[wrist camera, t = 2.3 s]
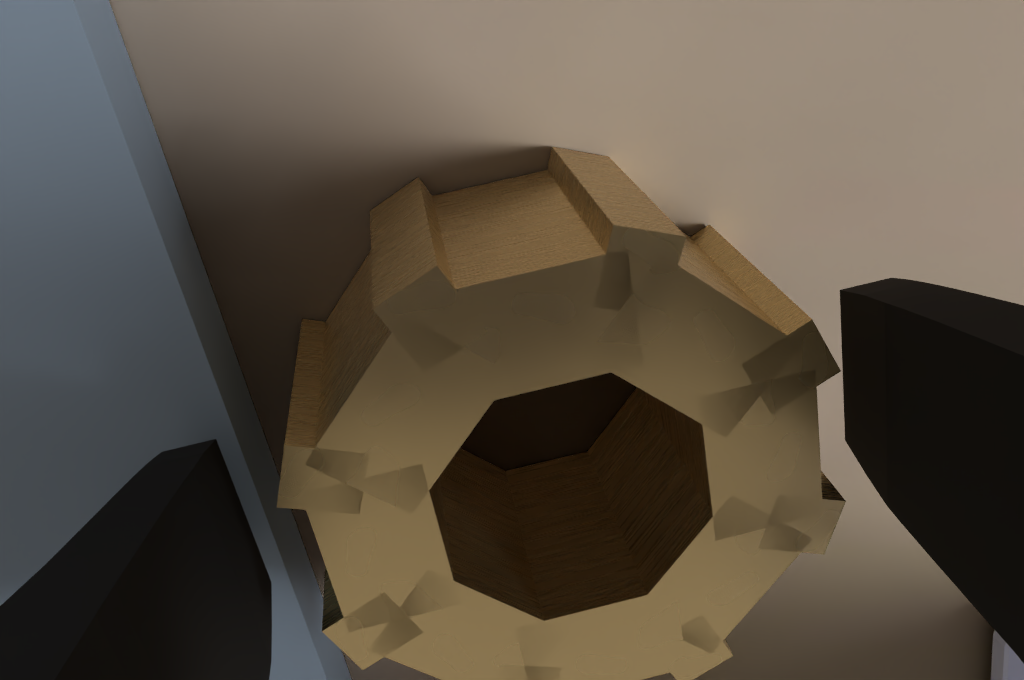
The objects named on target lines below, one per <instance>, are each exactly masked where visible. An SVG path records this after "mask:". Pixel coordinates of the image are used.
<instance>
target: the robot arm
mask: <svg viewBox="0 0 1024 680" xmlns="http://www.w3.org/2000/svg"><path fill="white" fill-rule="evenodd" d="M840 305H841V333H842V361H843V389H844V418H845V441H846V442H847V444H848V445H849V447H850V449H851V450H852V452H853V454H854V455H855V457H856V458H857V460H858V462H859V463H860V465H861V467H862V468H863V470H864V471H865V473H866V475H867V476H868V478H869V479H870V481H871V482H872V484H873V485H874V487H875V488H876V490H877V491H878V493H879V494H880V496H881V497H882V499H883V500H884V502H885V503H886V505H887V506H888V508H889V509H890V510H891V511H892V512H893V514H894V515H895V516H896V517H897V518H898V519H899V521H900V522H901V523H902V524H903V525H904V527H905V528H906V529H907V530H908V531H909V532H910V534H911V535H912V536H913V537H914V538H915V539H916V540H917V542H918V543H919V544H920V545H921V546H922V547H923V549H924V550H925V551H926V552H927V553H928V554H929V556H930V557H931V558H932V559H933V560H934V561H935V562H936V564H937V565H938V566H939V567H940V568H941V569H942V570H943V571H944V573H945V574H946V575H947V576H948V577H949V578H950V579H951V581H952V582H953V583H954V584H955V585H956V586H957V587H958V589H959V590H960V591H961V592H962V593H963V594H964V595H965V596H966V598H967V599H968V600H969V601H970V602H971V603H972V604H973V606H974V607H975V608H976V609H977V610H978V611H979V612H980V614H981V615H982V616H983V617H984V618H985V619H986V620H987V621H988V623H989V624H990V625H991V626H992V627H993V628H994V629H995V630H994V633H993V647H992V666H991V680H1024V306H1023V305H1019V304H1015V303H1011V302H1007V301H1003V300H999V299H995V298H991V297H986V296H982V295H978V294H974V293H970V292H966V291H962V290H957V289H953V288H948V287H944V286H939V285H934V284H930V283H924V282H919V281H913V280H906V279H897V278H889V279H884V280H880V281H876V282H872V283H868V284H863V285H859V286H855V287H851V288H847V289H842V290H840ZM271 657H272V583H271V580H270V577H269V574H268V572H267V569H266V567H265V564H264V561H263V559H262V556H261V554H260V551H259V548H258V546H257V543H256V541H255V538H254V536H253V533H252V530H251V528H250V525H249V523H248V520H247V517H246V515H245V512H244V510H243V507H242V505H241V502H240V499H239V497H238V494H237V492H236V489H235V486H234V484H233V481H232V479H231V476H230V473H229V471H228V468H227V466H226V463H225V461H224V458H223V455H222V453H221V450H220V448H219V445H218V442H217V440H216V439H213V440H209V441H205V442H201V443H197V444H192V445H188V446H184V447H180V448H176V449H171V450H167V451H163V452H161V453H159V454H158V455H157V456H156V457H154V458H153V459H152V460H151V461H149V462H148V463H147V464H146V465H145V466H144V467H143V468H142V469H141V470H140V471H139V472H137V473H136V474H135V475H134V476H133V477H132V478H131V479H130V480H129V481H128V482H127V483H126V484H125V485H124V486H123V487H122V488H121V489H120V490H119V491H118V492H117V493H116V494H115V495H114V496H113V497H112V498H111V499H110V500H109V501H108V502H107V503H106V504H105V505H104V506H103V507H102V508H101V509H100V510H99V511H98V512H97V513H96V514H95V515H94V516H93V517H92V518H91V519H90V520H89V521H88V522H87V523H86V524H85V525H84V526H83V527H82V528H81V529H80V530H79V531H78V532H77V533H76V534H75V535H74V536H73V537H72V538H71V539H70V540H69V541H68V542H67V543H66V544H65V545H64V546H63V547H62V548H61V549H60V550H59V551H58V552H57V553H56V554H55V555H54V556H53V557H52V558H51V559H50V560H49V561H48V562H47V563H46V564H45V565H44V566H43V567H42V568H41V569H40V570H39V571H38V572H37V573H35V574H34V575H33V576H32V577H31V578H30V579H29V580H28V581H27V582H26V583H25V584H24V585H22V586H21V587H20V588H19V589H18V590H17V591H16V592H15V593H14V594H13V595H12V596H11V597H9V598H8V599H7V600H6V601H5V602H4V603H3V604H2V605H1V606H0V680H269V676H270V669H271Z"/></svg>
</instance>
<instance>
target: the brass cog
mask: <svg viewBox="0 0 1024 680" xmlns="http://www.w3.org/2000/svg"><path fill="white" fill-rule="evenodd" d="M370 229H371V251H370V253H369V254H368V256H367V257H366V259H365V260H364V262H363V264H362V265H361V267H360V268H359V270H358V271H357V273H356V275H355V276H354V278H353V279H352V281H351V282H350V284H349V286H348V287H347V289H346V290H345V292H344V293H343V295H342V297H341V298H340V300H339V301H338V303H337V304H336V306H335V308H334V309H333V311H332V312H331V314H330V315H329V317H328V319H327V320H326V322H322V321H314V320H307V319H302V323H301V330H300V338H299V345H298V352H297V359H296V366H295V373H294V380H293V387H292V394H291V402H290V409H289V416H288V423H287V430H286V437H285V444H284V452H283V460H282V468H281V476H280V484H279V492H278V499H277V507H278V508H289V509H301V510H306V511H307V514H308V517H309V520H310V523H311V526H312V529H313V531H314V534H315V537H316V540H317V543H318V546H319V549H320V552H321V554H322V557H323V560H324V563H325V583H324V602H323V621H322V632H323V633H324V634H325V635H326V636H327V637H328V638H329V639H330V640H331V641H332V642H334V643H335V644H336V645H337V646H338V647H339V648H340V649H341V650H342V651H343V652H344V653H345V654H346V655H347V656H348V657H349V658H350V659H351V660H352V661H354V662H355V663H356V664H357V665H358V666H359V667H360V668H361V669H362V670H364V669H366V668H367V667H369V666H371V665H372V664H374V663H375V662H377V661H379V660H380V659H382V658H383V657H385V658H388V659H390V660H393V661H395V662H398V663H400V664H403V665H405V666H408V667H410V668H413V669H415V670H418V671H420V672H423V673H425V674H428V675H430V676H433V677H435V678H438V679H440V680H643V679H647V678H650V677H654V676H658V675H662V674H666V673H671V674H672V675H673V677H674V678H675V679H676V680H693V679H695V678H697V677H698V676H700V675H702V674H704V673H705V672H707V671H709V670H710V669H712V668H714V667H715V666H717V665H719V664H720V663H722V662H724V661H725V660H727V659H729V658H730V657H732V656H733V654H732V652H731V650H730V648H729V646H728V644H727V642H726V640H725V638H726V637H727V636H728V634H729V633H730V632H731V631H732V630H733V629H734V628H735V627H736V625H737V624H738V623H739V622H740V621H741V620H742V619H743V617H744V616H745V615H746V614H747V613H748V612H749V611H750V610H751V608H752V607H753V606H754V605H755V604H756V603H757V602H758V601H759V599H760V598H761V597H762V596H763V595H764V594H765V593H766V592H767V590H768V589H769V588H770V587H771V586H772V585H773V584H774V583H775V581H776V580H777V579H778V578H779V577H780V576H781V575H782V573H783V572H784V571H785V570H786V569H787V568H788V567H789V566H790V564H791V563H792V562H793V561H794V560H795V559H796V558H797V557H798V555H799V554H800V553H801V552H802V553H814V554H825V551H826V549H827V546H828V544H829V541H830V539H831V537H832V534H833V532H834V529H835V527H836V524H837V522H838V519H839V517H840V514H841V512H842V509H843V507H844V504H845V502H846V501H845V500H844V499H843V497H842V496H841V495H840V494H839V492H838V491H837V490H836V489H835V487H834V486H833V485H832V484H831V482H830V481H829V480H828V479H827V478H826V476H825V475H824V474H823V473H822V471H821V466H820V447H819V427H818V408H817V388H816V386H818V385H819V384H821V383H823V382H824V381H826V380H827V379H829V378H831V377H832V376H834V375H835V374H837V373H839V372H840V369H839V367H838V365H837V363H836V362H835V360H834V358H833V356H832V354H831V353H830V351H829V349H828V347H827V345H826V344H825V342H824V340H823V338H822V336H821V335H820V333H819V331H818V329H817V327H816V326H815V324H814V322H813V320H812V319H811V318H810V317H809V316H808V315H807V314H806V313H804V312H803V311H802V310H801V309H800V308H799V307H798V306H797V305H796V304H795V303H794V302H793V301H791V300H790V299H789V298H788V297H787V296H786V295H785V294H784V293H783V292H782V291H781V290H780V289H778V288H777V287H776V286H775V285H774V284H773V283H772V282H771V281H770V280H769V279H768V278H767V277H765V276H764V275H763V274H762V273H761V272H760V271H759V270H758V269H757V268H756V267H755V266H754V265H752V264H751V263H750V262H749V261H748V260H747V259H746V258H745V257H744V256H743V255H742V254H741V253H739V252H738V251H737V250H736V249H735V248H734V247H733V246H732V245H731V244H730V243H729V242H728V241H727V240H725V239H724V238H723V237H722V236H721V235H720V234H719V233H718V232H717V231H716V230H715V229H714V228H712V227H711V226H710V225H708V226H706V227H705V228H703V229H702V230H700V231H699V232H697V233H696V234H694V235H693V236H691V237H689V236H688V235H686V234H685V233H683V232H682V231H680V230H679V229H678V227H677V226H676V225H675V224H674V223H673V222H672V221H671V220H670V219H669V218H668V217H667V216H666V215H665V214H664V213H663V212H662V211H661V210H660V209H659V208H658V207H657V206H656V205H655V204H654V203H653V202H652V201H651V200H650V199H649V198H648V197H647V196H646V195H645V194H644V193H643V192H642V191H641V190H640V189H639V187H638V186H637V185H636V184H635V183H634V182H633V181H632V180H631V179H630V178H629V177H628V176H627V175H626V174H625V173H624V172H623V171H622V170H621V169H620V168H619V167H618V166H617V165H616V164H615V163H614V162H613V161H612V160H611V159H610V158H609V157H607V156H602V155H596V154H590V153H584V152H579V151H573V150H567V149H562V148H556V147H552V150H551V154H550V159H549V163H548V168H547V170H545V171H540V172H536V173H531V174H527V175H523V176H518V177H514V178H509V179H505V180H501V181H496V182H492V183H487V184H483V185H479V186H474V187H470V188H465V189H461V190H456V191H452V192H448V193H443V194H439V195H434V196H432V195H431V193H430V192H429V191H428V189H427V188H426V187H425V185H424V184H423V183H422V181H421V180H420V178H419V177H418V178H416V179H415V180H413V181H412V182H411V183H409V184H408V185H406V186H405V187H403V188H402V189H400V190H399V191H398V192H396V193H395V194H393V195H392V196H390V197H389V198H388V199H386V200H385V201H383V202H382V203H380V204H379V205H378V206H376V207H375V208H373V209H372V210H370ZM611 372H612V373H614V374H615V375H617V376H619V377H621V378H622V379H624V380H626V381H628V382H629V383H631V384H633V385H635V386H636V387H637V388H636V389H635V391H634V392H633V393H632V394H631V396H630V397H629V398H628V400H627V401H626V402H625V404H624V405H623V406H622V407H621V409H620V410H619V411H618V413H617V414H616V415H615V417H614V418H613V419H612V420H611V422H610V423H609V424H608V426H607V427H606V428H605V430H604V431H603V432H602V433H601V435H600V436H599V437H598V439H597V440H596V441H595V443H594V444H593V445H592V446H591V448H590V449H589V450H588V451H587V452H583V453H578V454H574V455H570V456H566V457H562V458H558V459H554V460H550V461H545V462H541V463H537V464H533V465H529V466H525V467H521V468H517V469H512V470H508V471H504V470H502V469H500V468H498V467H496V466H495V465H493V464H491V463H489V462H487V461H485V460H483V459H481V458H479V457H477V456H475V455H473V454H471V453H469V452H467V451H465V450H463V449H461V448H460V447H461V445H462V444H463V443H464V441H465V440H466V438H467V437H468V436H469V434H470V433H471V432H472V430H473V429H474V427H475V426H476V425H477V423H478V422H479V420H480V419H481V418H482V416H483V415H484V413H485V412H486V411H487V409H488V408H489V407H490V405H491V404H492V402H493V401H494V400H498V399H502V398H506V397H510V396H514V395H519V394H523V393H527V392H531V391H535V390H540V389H544V388H548V387H552V386H556V385H560V384H565V383H569V382H573V381H577V380H581V379H586V378H590V377H594V376H598V375H602V374H607V373H611Z"/></svg>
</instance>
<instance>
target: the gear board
mask: <svg viewBox="0 0 1024 680" xmlns="http://www.w3.org/2000/svg"><path fill="white" fill-rule="evenodd" d="M213 439H216V440H217V442H218V445H219V448H220V450H221V453H222V455H223V458H224V461H225V463H226V466H227V468H228V471H229V473H230V476H231V479H232V481H233V484H234V486H235V489H236V492H237V494H238V497H239V499H240V502H241V505H242V507H243V510H244V512H245V515H246V517H247V520H248V523H249V525H250V528H251V530H252V533H253V536H254V538H255V541H256V543H257V546H258V548H259V551H260V554H261V556H262V559H263V561H264V564H265V567H266V569H267V572H268V574H269V577H270V580H271V583H272V657H271V669H270V676H269V680H352V678H351V676H350V673H349V670H348V667H347V664H346V662H345V659H344V656H343V653H342V651H341V649H340V648H339V647H338V646H337V645H336V644H335V643H334V642H332V641H331V640H330V639H329V638H328V637H327V636H326V635H325V634H324V633H323V632H322V621H323V602H324V600H323V597H322V595H321V592H320V589H319V586H318V583H317V581H316V578H315V575H314V572H313V570H312V567H311V564H310V561H309V558H308V556H307V553H306V550H305V547H304V544H303V542H302V539H301V536H300V533H299V530H298V528H297V525H296V522H295V519H294V516H293V514H292V511H291V509H289V508H278V507H277V499H278V492H279V484H280V477H279V475H278V472H277V469H276V466H275V463H274V461H273V458H272V455H271V452H270V449H269V447H268V444H267V441H266V438H265V435H264V433H263V430H262V427H261V424H260V421H259V419H258V416H257V413H256V410H255V408H254V405H253V402H252V399H251V396H250V394H249V391H248V388H247V385H246V382H245V380H244V377H243V374H242V371H241V368H240V366H239V363H238V360H237V357H236V354H235V352H234V349H233V346H232V343H231V340H230V338H229V335H228V332H227V329H226V327H225V324H224V321H223V318H222V315H221V313H220V310H219V307H218V304H217V301H216V299H215V296H214V293H213V290H212V287H211V285H210V282H209V279H208V276H207V273H206V271H205V268H204V265H203V262H202V259H201V257H200V254H199V251H198V248H197V245H196V243H195V240H194V237H193V234H192V232H191V229H190V226H189V223H188V220H187V218H186V215H185V212H184V209H183V206H182V204H181V201H180V198H179V195H178V192H177V190H176V187H175V184H174V181H173V178H172V176H171V173H170V170H169V167H168V164H167V162H166V159H165V156H164V153H163V151H162V148H161V145H160V142H159V139H158V137H157V134H156V131H155V128H154V125H153V123H152V120H151V117H150V114H149V111H148V109H147V106H146V103H145V100H144V97H143V95H142V92H141V89H140V86H139V83H138V81H137V78H136V75H135V72H134V70H133V67H132V64H131V61H130V58H129V56H128V53H127V50H126V47H125V44H124V42H123V39H122V36H121V33H120V30H119V28H118V25H117V22H116V19H115V16H114V14H113V11H112V8H111V5H110V2H109V0H0V606H1V605H2V604H3V603H4V602H5V601H6V600H7V599H8V598H9V597H11V596H12V595H13V594H14V593H15V592H16V591H17V590H18V589H19V588H20V587H21V586H22V585H24V584H25V583H26V582H27V581H28V580H29V579H30V578H31V577H32V576H33V575H34V574H35V573H37V572H38V571H39V570H40V569H41V568H42V567H43V566H44V565H45V564H46V563H47V562H48V561H49V560H50V559H51V558H52V557H53V556H54V555H55V554H56V553H57V552H58V551H59V550H60V549H61V548H62V547H63V546H64V545H65V544H66V543H67V542H68V541H69V540H70V539H71V538H72V537H73V536H74V535H75V534H76V533H77V532H78V531H79V530H80V529H81V528H82V527H83V526H84V525H85V524H86V523H87V522H88V521H89V520H90V519H91V518H92V517H93V516H94V515H95V514H96V513H97V512H98V511H99V510H100V509H101V508H102V507H103V506H104V505H105V504H106V503H107V502H108V501H109V500H110V499H111V498H112V497H113V496H114V495H115V494H116V493H117V492H118V491H119V490H120V489H121V488H122V487H123V486H124V485H125V484H126V483H127V482H128V481H129V480H130V479H131V478H132V477H133V476H134V475H135V474H136V473H137V472H139V471H140V470H141V469H142V468H143V467H144V466H145V465H146V464H147V463H148V462H149V461H151V460H152V459H153V458H154V457H156V456H157V455H158V454H159V453H161V452H163V451H167V450H171V449H176V448H180V447H184V446H188V445H192V444H197V443H201V442H205V441H209V440H213Z"/></svg>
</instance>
